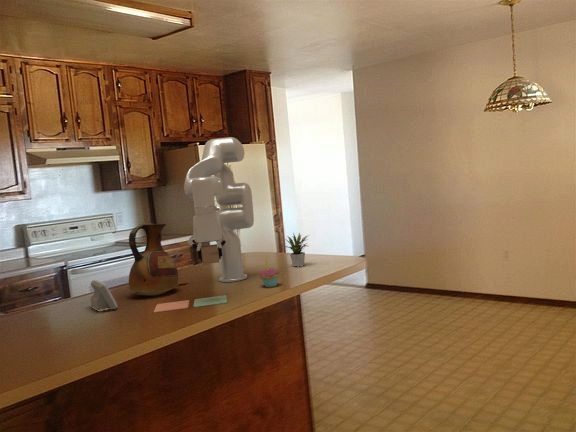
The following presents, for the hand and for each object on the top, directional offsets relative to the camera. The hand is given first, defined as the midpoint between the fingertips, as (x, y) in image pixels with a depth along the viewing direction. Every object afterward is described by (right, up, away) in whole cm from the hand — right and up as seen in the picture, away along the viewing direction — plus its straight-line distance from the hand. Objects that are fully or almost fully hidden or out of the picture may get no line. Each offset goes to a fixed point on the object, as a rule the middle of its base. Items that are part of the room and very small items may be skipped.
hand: (210, 259), depth 191 cm
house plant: (+34, -8, +55) cm, 65 cm away
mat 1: (-14, -17, -1) cm, 22 cm away
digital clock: (-41, -20, +8) cm, 47 cm away
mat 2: (0, -16, +1) cm, 16 cm away
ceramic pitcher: (-27, -17, +26) cm, 41 cm away
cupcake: (+21, -12, +18) cm, 31 cm away
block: (0, -1, 0) cm, 1 cm away
